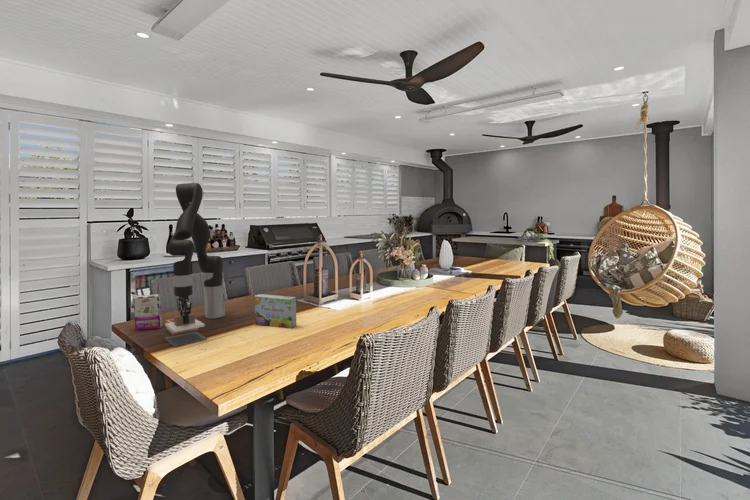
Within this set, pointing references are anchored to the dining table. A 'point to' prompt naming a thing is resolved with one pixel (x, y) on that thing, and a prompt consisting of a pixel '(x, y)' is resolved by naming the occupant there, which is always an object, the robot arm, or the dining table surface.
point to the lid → (180, 326)
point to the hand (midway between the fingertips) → (184, 322)
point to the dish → (179, 331)
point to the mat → (185, 339)
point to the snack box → (275, 310)
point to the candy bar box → (147, 312)
